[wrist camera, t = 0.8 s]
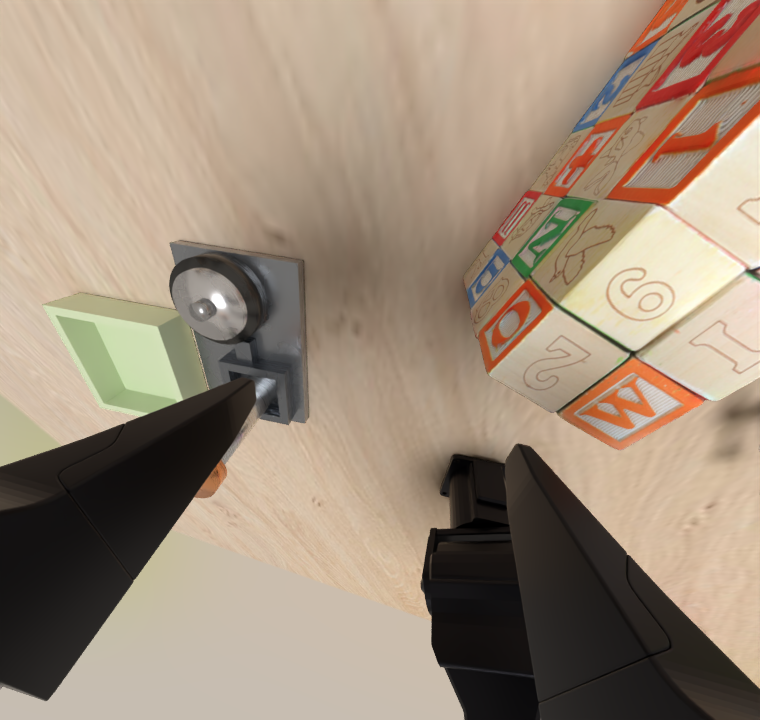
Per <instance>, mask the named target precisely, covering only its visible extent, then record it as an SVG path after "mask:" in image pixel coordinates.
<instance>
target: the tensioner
mask: <svg viewBox="0 0 760 720" xmlns="http://www.w3.org/2000/svg"><path fill="white" fill-rule="evenodd" d="M170 247H171V250H172V254H173V257H174V261H175V265H176V266H175V267H174V269H173V270H172V273H171V275H170V282H169V287H170V293H171V297H172V300H173V303H174V305H175V307H176V309H177V311H178V312H179V314H180V315H181V317H182V318H183V319H184V321H185V322H186V323H187V324H188V325H189V326H190V327H191V328H192V329H193V331H194V334H195V338H196V341H197V345H198V349H199V352H200V356H201V360H202V363H203V367H204V371H205V374H206V378H207V382H208V385H209V389H213V388H215V387H218V386H220V385H223V384H225V383H228V382H231V381H233V380H236V379H238V378H241V377H244V378H246V377H247V376H248V375H253V376H258V377H263V378H268V379H273V380H276V386H277V396H276V398H275V399H274V400H273V402H272V403H271V404H270V406H269V407H268V408H267V409H266V411H265V412H264V413H263V415H262V416H261V417H260V419H263V420H268V421H272V422H277V423H282V424H286V425H289V424H290V422H291V421H295V422H300V423H306V421H307V419H308V417H309V409H308V381H307V353H306V325H305V297H304V269H303V260H299V259H292V258H286V257H280V256H274V255H267V254H261V253H255V252H249V251H242V250H236V249H230V248H224V247H217V246H211V245H205V244H199V243H192V242H186V241H180V240H179V241H175V242H171V243H170Z"/></svg>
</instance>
